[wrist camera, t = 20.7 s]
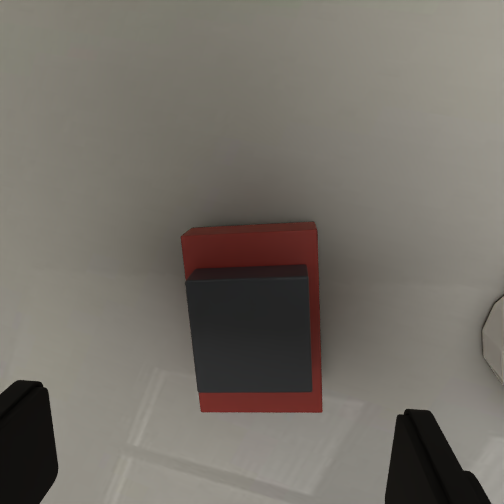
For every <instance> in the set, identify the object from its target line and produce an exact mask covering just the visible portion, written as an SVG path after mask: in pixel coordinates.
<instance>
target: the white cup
mask: <svg viewBox="0 0 504 504" xmlns="http://www.w3.org/2000/svg"><path fill="white" fill-rule="evenodd" d="M482 338H483V356H484V359H485V360H486V362H487V363H488V365H489V366H490V368H491V369H492V371H493V372H494V373H495V375H496V376H497V378H498V379H499V381H500V382H501V383H502V384H503V386H504V296H503V297H502V298H501V299H500V300H499V301H497V302H496V303H495V304H494V306H493V308H492V310H491V312H490V315H489V317H488V319H487V321H486V323H485V325H484V327H483V329H482Z"/></svg>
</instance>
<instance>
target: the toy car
mask: <svg viewBox="0 0 504 504" xmlns="http://www.w3.org/2000/svg"><path fill="white" fill-rule="evenodd" d="M181 243H182V252H183V261H184V269H185V278H186V281H185V285H186V294H187V303H188V311H189V320H190V329H191V337H192V346H193V355H194V363H195V372H196V381H197V389H198V392H199V400H200V409H201V412H312V413H321V412H322V375H321V340H320V305H319V269H318V234H317V228H316V225H315V222H297V223H277V224H257V225H237V226H218V227H198V228H191V229H190V230H188V231H187V232H186V233H185V234H183V235H182V236H181Z"/></svg>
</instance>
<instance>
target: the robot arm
mask: <svg viewBox="0 0 504 504" xmlns="http://www.w3.org/2000/svg"><path fill="white" fill-rule="evenodd" d="M57 474H58V461H57V453H56V446H55V438H54V431H53V424H52V416H51V409H50V401H49V394H48V390H47V388H44V387H43V384H42V383H41V382H39V381H26V380H18V381H16V382H14V383H13V384H12V385H10V386H9V387H8V388H7V389H6V390H5V391H4V392H2V393H1V394H0V504H40V502H41V501H42V499H43V498H44V496H45V495H46V493H47V492H48V490H49V489H50V488H51V486H52V485H53V483H54V481H55V479H56V477H57ZM385 504H491V502H490V500H489V499H488V497H487V495H486V493H485V492H484V490H483V488H482V486H481V485H480V483H479V481H478V480H477V478H476V477H475V475H474V474H473V473H471V472H470V471H463V469H462V468H461V466H460V464H459V462H458V460H457V458H456V456H455V455H454V453H453V451H452V449H451V447H450V445H449V444H448V442H447V440H446V438H445V436H444V434H443V433H442V431H441V429H440V427H439V425H438V423H437V421H436V420H435V418H434V416H433V414H432V413H431V411H429V410H415V409H406V410H405V412H404V415H402V414H399V415H398V416H397V419H396V426H395V433H394V439H393V446H392V453H391V460H390V467H389V473H388V480H387V487H386V494H385Z"/></svg>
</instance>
